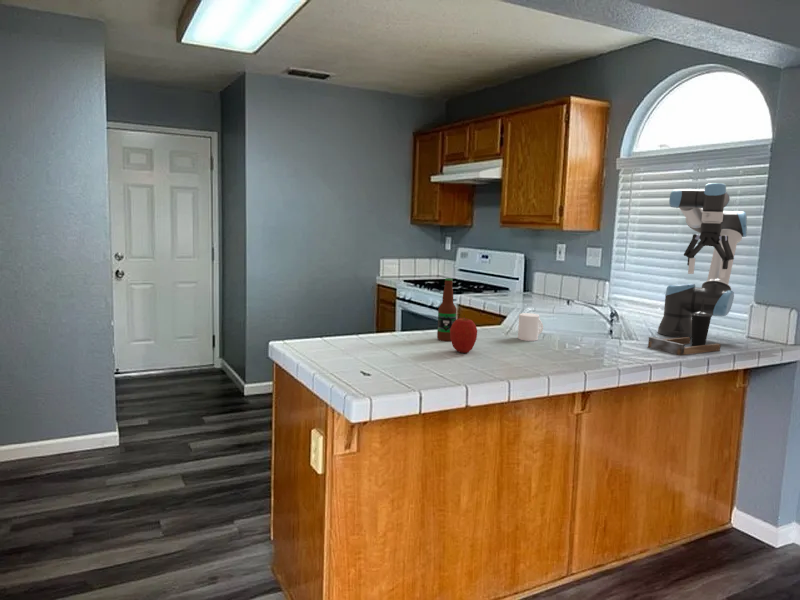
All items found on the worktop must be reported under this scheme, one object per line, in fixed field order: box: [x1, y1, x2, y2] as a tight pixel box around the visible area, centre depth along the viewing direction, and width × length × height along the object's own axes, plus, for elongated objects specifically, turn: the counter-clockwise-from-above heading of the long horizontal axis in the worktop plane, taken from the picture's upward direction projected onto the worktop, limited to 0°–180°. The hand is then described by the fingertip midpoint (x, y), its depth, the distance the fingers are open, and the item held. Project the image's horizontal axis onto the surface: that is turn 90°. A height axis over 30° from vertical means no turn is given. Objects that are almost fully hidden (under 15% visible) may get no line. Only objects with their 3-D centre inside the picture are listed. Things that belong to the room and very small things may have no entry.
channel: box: [647, 336, 721, 356], centre depth 241 cm, size 15×24×4 cm, turn 118°
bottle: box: [436, 277, 457, 342], centre depth 241 cm, size 7×7×25 cm
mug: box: [517, 312, 544, 342], centre depth 250 cm, size 8×10×12 cm
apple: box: [450, 315, 478, 354], centre depth 220 cm, size 10×10×14 cm
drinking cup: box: [691, 299, 713, 346], centre depth 244 cm, size 8×8×20 cm
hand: (705, 275), depth 241 cm, fingers open, 13 cm apart
